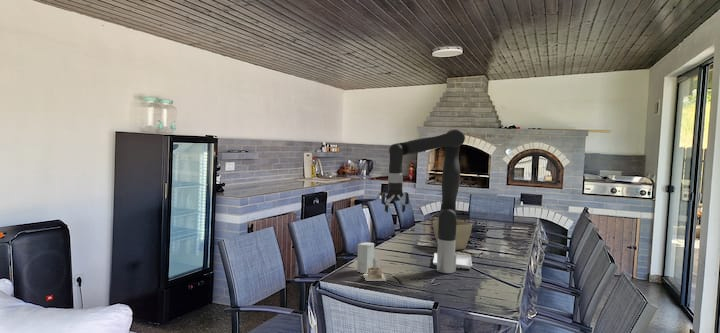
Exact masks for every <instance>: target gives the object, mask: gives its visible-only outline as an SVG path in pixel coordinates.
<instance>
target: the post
mask: <svg viewBox="0 0 720 333" xmlns="http://www.w3.org/2000/svg"><path fill="white" fill-rule="evenodd" d="M377 267H378V257H377V258H376V257H374V258H373V270H377ZM363 275H364V276H363ZM362 276H363V279H364V278H365V279H364V281H365V280H366V281H386V282H387V279H386V277H385V274H384V273H382V278H378V279H370V278H369V276H368V274H363V273H362ZM366 281H365V282H366Z"/></svg>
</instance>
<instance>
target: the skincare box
mask: <svg viewBox="0 0 720 333" xmlns="http://www.w3.org/2000/svg"><path fill="white" fill-rule="evenodd" d="M373 258H375V243H374V242H370V241H369V242H367V241H364V242H362V243H358V244H357V258H356V259H357V266H356V272H357V273H358V272H360V273H359V274H363V273H366V274H367V273H368V267H373Z"/></svg>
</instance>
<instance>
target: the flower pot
mask: <svg viewBox="0 0 720 333" xmlns="http://www.w3.org/2000/svg"><path fill="white" fill-rule="evenodd" d="M432 227H433V232H434V237H435V240H436V243H437V245H438V220H432ZM472 229H473V223H471V222H470V223H469V222H466V221H462V220H458V219H457V222H456V242H455V251H457V250H459V251H460V250H465V249H466V247H467V245H468V242H469V239H470V238H471V237H470V236H471V233H472Z"/></svg>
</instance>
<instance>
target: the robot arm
mask: <svg viewBox="0 0 720 333" xmlns="http://www.w3.org/2000/svg"><path fill="white" fill-rule="evenodd" d="M465 139H466V136H465V134H464V132H463V131H461V130H460V129H450V130H448V131H447V132H446V133H444V134H440V135H437V136H436V135H435V136H429V137H421V138H416V139H412V140H408V141H404V142H398V143H393V144H391V145H390V146H389V148H388V153H389V163H388V179H387V180H388V182H387V184H388V185H387V186H388V187H387V192H381V204H382V205H384V211H385V212H386V213H389V204H390V203H391V202H395V201H396V202H400V203H401V212H402V213H404V212H405V211H406V205H409V203H410V200H409V197H410V196H409V192H403V181H404V179H403V178H404V177H403V159H404V158H403V157H404V156H406V155H412V154H418V153H423V152H427V151H430V150H436V149H439V148H444V161H443V167H442V176H441V203H440V204H441V206H440V210H439V215H438V220H437V221H438V244H437V250H436V251H437V252H436V253H437V266H436V271H437V272H439V273H443V274H453V273H456V270H457V268H456V255H457V254H456V250H455V242H456V222H457V220H458V218H457V204H456V202H457V196H458V192H459V187H460V180H461V166H460V160H459V158H460V157H459V155H460V148H461V146H462V145H463V144H464V143H465V141H466V140H465ZM403 196H404V198H405V201H404V200H403ZM386 197H388V198H387V199H386ZM385 199H386V200H385Z"/></svg>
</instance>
